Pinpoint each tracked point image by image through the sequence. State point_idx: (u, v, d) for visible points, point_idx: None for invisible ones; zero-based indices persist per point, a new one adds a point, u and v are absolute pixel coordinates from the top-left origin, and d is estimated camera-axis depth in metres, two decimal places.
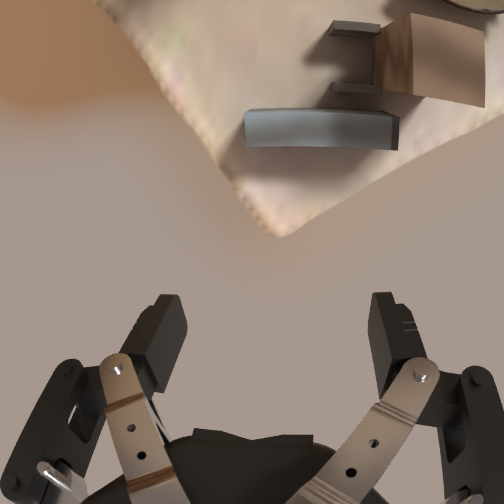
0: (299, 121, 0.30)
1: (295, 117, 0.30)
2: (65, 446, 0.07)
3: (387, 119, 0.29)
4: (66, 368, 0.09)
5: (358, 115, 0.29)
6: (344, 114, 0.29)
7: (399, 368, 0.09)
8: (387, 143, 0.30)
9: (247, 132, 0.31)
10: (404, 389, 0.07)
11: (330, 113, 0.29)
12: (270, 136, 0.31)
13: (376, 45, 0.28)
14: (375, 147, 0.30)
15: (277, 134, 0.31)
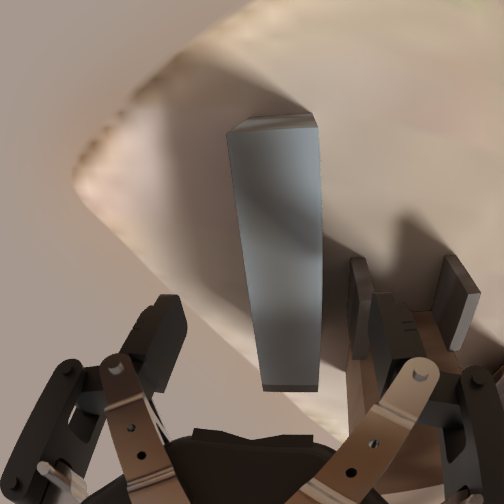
0: (300, 254, 0.14)
1: (308, 246, 0.14)
2: (65, 446, 0.07)
3: (313, 380, 0.19)
4: (66, 369, 0.09)
5: (317, 346, 0.17)
6: (318, 328, 0.16)
7: (399, 368, 0.09)
8: (272, 380, 0.19)
9: (266, 136, 0.12)
10: (404, 389, 0.07)
11: (319, 306, 0.16)
12: (260, 191, 0.13)
13: (425, 331, 0.20)
14: (262, 368, 0.19)
15: (265, 208, 0.14)
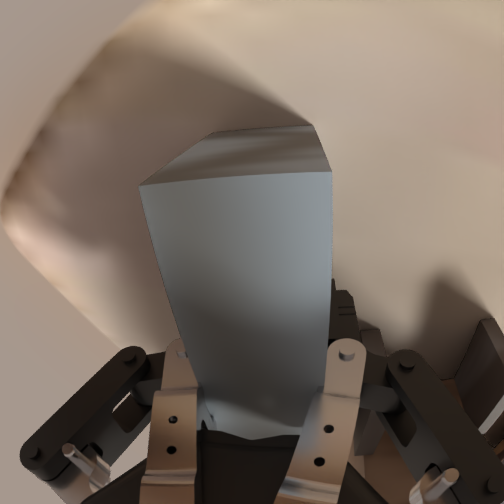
0: (287, 382, 0.08)
1: (302, 373, 0.08)
2: (102, 433, 0.08)
3: None
4: (128, 356, 0.10)
5: None
6: None
7: None
8: None
9: (217, 191, 0.06)
10: (326, 366, 0.09)
11: None
12: (212, 293, 0.07)
13: None
14: None
15: (224, 319, 0.07)
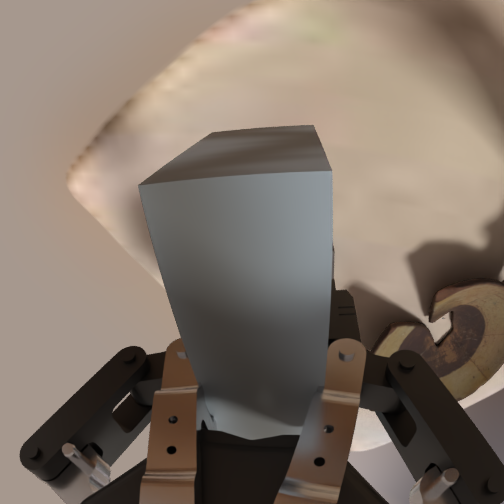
0: (287, 381, 0.08)
1: (302, 373, 0.08)
2: (102, 432, 0.08)
3: None
4: (128, 356, 0.10)
5: None
6: None
7: None
8: None
9: (217, 190, 0.06)
10: (326, 366, 0.09)
11: None
12: (212, 292, 0.07)
13: None
14: None
15: (224, 319, 0.07)
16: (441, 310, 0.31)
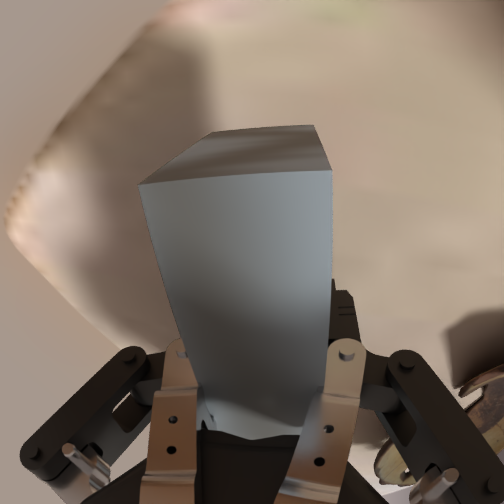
0: (287, 381, 0.08)
1: (302, 372, 0.08)
2: (102, 432, 0.08)
3: None
4: (128, 356, 0.10)
5: None
6: None
7: None
8: None
9: (217, 189, 0.06)
10: (326, 366, 0.09)
11: None
12: (212, 292, 0.07)
13: None
14: None
15: (224, 318, 0.07)
16: (476, 386, 0.22)
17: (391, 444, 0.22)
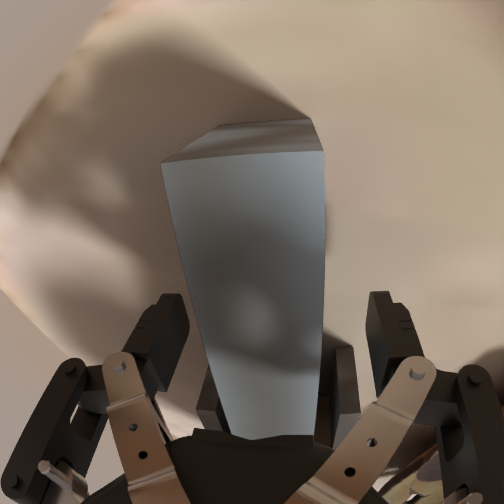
0: (287, 345, 0.09)
1: (301, 336, 0.09)
2: (67, 445, 0.07)
3: None
4: (69, 368, 0.09)
5: None
6: (312, 421, 0.11)
7: (396, 367, 0.09)
8: None
9: (228, 167, 0.07)
10: (401, 387, 0.08)
11: (314, 400, 0.11)
12: (221, 258, 0.08)
13: None
14: None
15: (231, 283, 0.08)
16: None
17: (394, 485, 0.18)
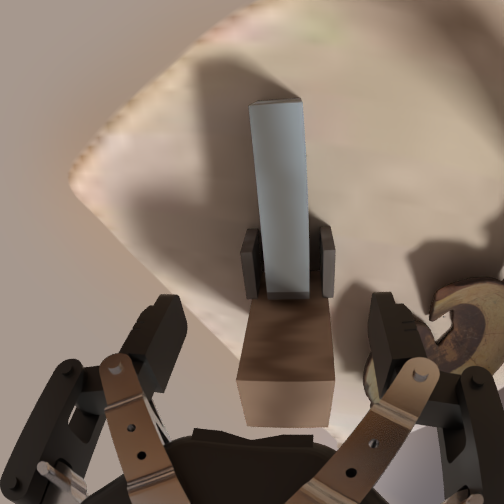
0: (292, 181, 0.22)
1: (298, 176, 0.22)
2: (65, 446, 0.07)
3: (305, 286, 0.27)
4: (66, 369, 0.09)
5: (307, 254, 0.25)
6: (307, 237, 0.24)
7: (399, 368, 0.09)
8: (274, 288, 0.27)
9: (272, 107, 0.20)
10: (404, 389, 0.07)
11: (307, 220, 0.24)
12: (268, 140, 0.21)
13: None
14: (267, 275, 0.27)
15: (271, 150, 0.21)
16: (442, 308, 0.31)
17: None
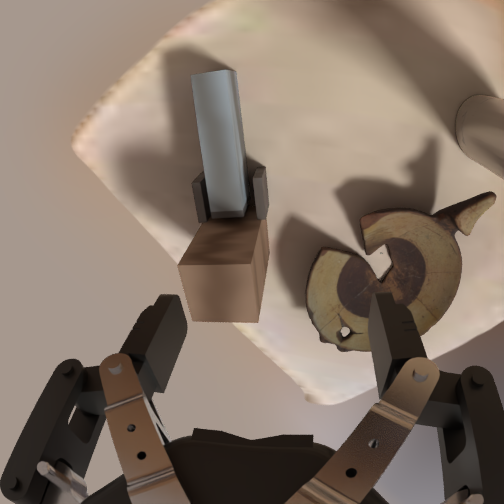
0: (222, 123, 0.30)
1: (225, 119, 0.30)
2: (65, 446, 0.07)
3: (238, 205, 0.35)
4: (66, 369, 0.09)
5: (237, 178, 0.33)
6: (235, 165, 0.33)
7: (399, 368, 0.09)
8: (216, 208, 0.35)
9: (205, 74, 0.28)
10: (404, 389, 0.07)
11: (234, 152, 0.32)
12: (203, 96, 0.29)
13: (249, 212, 0.39)
14: (209, 197, 0.35)
15: (206, 103, 0.30)
16: (373, 240, 0.39)
17: (310, 274, 0.39)
